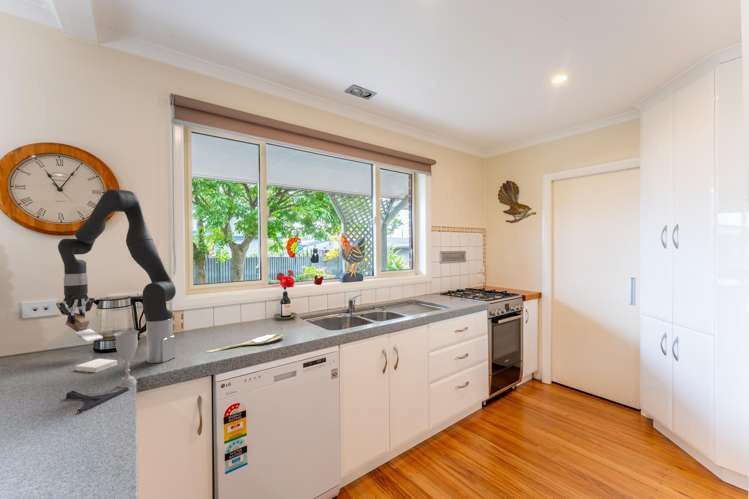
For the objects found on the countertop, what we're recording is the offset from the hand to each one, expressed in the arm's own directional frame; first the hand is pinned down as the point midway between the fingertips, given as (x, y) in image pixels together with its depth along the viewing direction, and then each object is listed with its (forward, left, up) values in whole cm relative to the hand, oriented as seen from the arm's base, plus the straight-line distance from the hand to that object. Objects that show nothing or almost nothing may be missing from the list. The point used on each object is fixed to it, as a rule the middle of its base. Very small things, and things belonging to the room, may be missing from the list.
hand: (76, 322), depth 136 cm
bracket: (-48, +29, -16) cm, 58 cm away
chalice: (-50, +18, -15) cm, 55 cm away
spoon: (-65, -28, -16) cm, 72 cm away
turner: (-3, 0, -4) cm, 5 cm away
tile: (-17, +8, -14) cm, 24 cm away
